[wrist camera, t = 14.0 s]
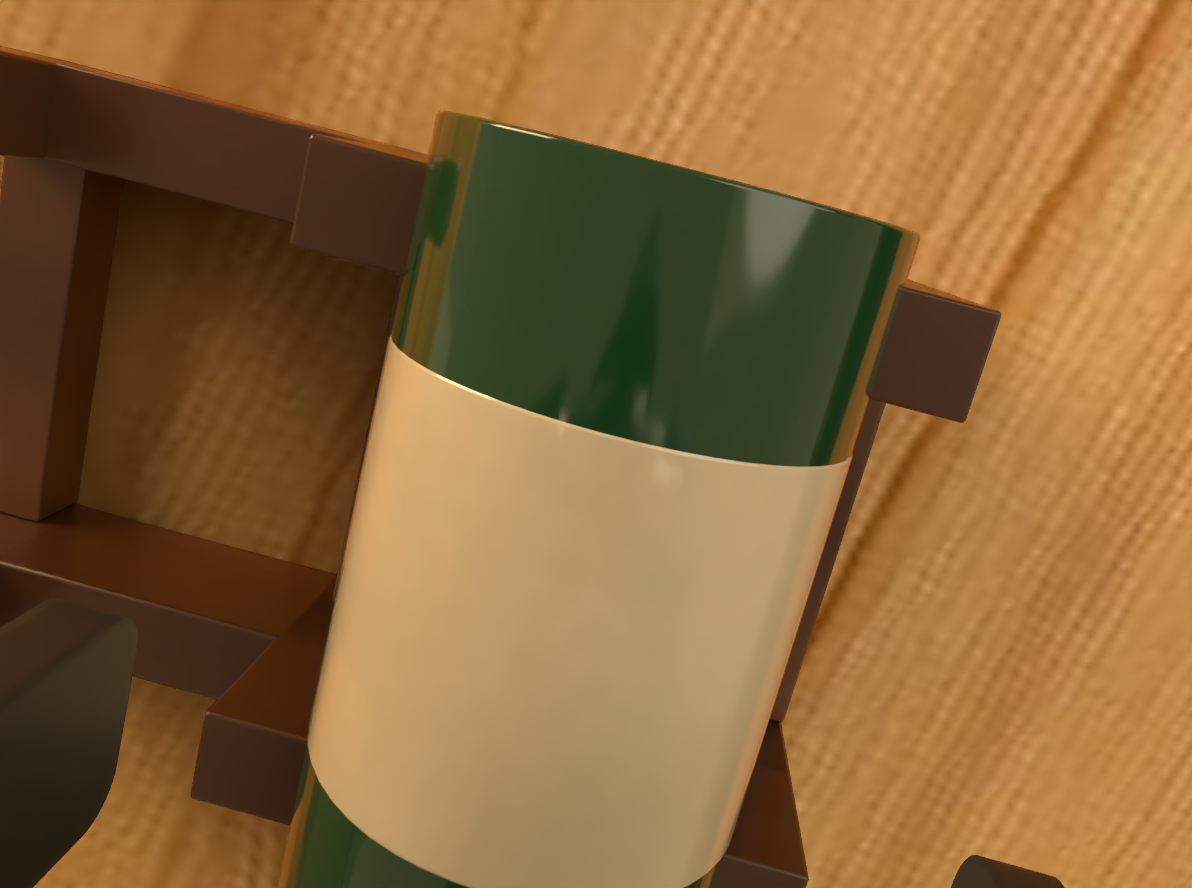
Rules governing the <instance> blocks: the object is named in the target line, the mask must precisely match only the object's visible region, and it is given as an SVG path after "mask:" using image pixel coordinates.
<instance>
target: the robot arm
mask: <svg viewBox="0 0 1192 888" xmlns="http://www.w3.org/2000/svg"><path fill="white" fill-rule="evenodd" d="M137 643H138V633H137V627H136V624H135V622H134V621H133V620H132V619H130V618H127V617H123V616H120V615H116V614H112V613H109V612H105V611H102V610H98V609H94V608H91V607H87V606H84V605H80V604H76V603H73V602H69V601H66V600H62V599H58V598H51V599H48V600H46V601H44V602H42V603H40V604H39V605H37V606H35V607H34V608H32V609H30V610H29V611H27V612H25V613H24V614H22V615H20V616H19V617H17V618H15V619H14V620H12V621H10V622H9V623H7V624H6V625H4V626H2V627H1V628H0V888H33V887H34V886H35V885H36V884H37V883H38V882H39V881H40V879H41V878H42V877H43V876H44V875H45V874H46V873H47V872H48V871H49V870H50V869H51V868H52V867H53V866H54V865H55V864H56V863H57V862H58V861H59V860H60V859H61V858H62V857H63V856H64V855H65V854H66V853H67V852H68V851H69V850H70V849H71V847H72V846H73V845H74V844H75V843H76V842H77V841H78V840H79V839H80V838H81V837H82V836H83V835H84V834H85V833H86V831H87V830H88V829H89V827H90V826H91V825H92V823H93V822H94V820H95V818H96V817H97V815H98V813H99V811H100V810H101V808H102V806H103V804H104V802H105V800H106V797H107V795H108V792H109V790H110V787H111V784H112V782H113V778H114V775H115V771H116V767H117V762H118V756H119V750H120V744H121V738H122V733H123V727H124V721H125V715H126V709H127V703H128V698H129V692H130V686H131V680H132V674H133V668H134V663H135V657H136V651H137ZM951 888H1064V886H1063V885H1062V883H1061V882H1060V881H1059V880H1058V879H1057V878H1055V877H1053V876H1050V875H1046V874H1043V873H1039V872H1035V871H1032V870H1028V869H1025V868H1021V867H1017V866H1014V865H1010V864H1007V863H1003V862H999V861H996V860H992V859H989V858H985V857H981V856H978V855H972V856H970V857H968V858H967V859H966V860H965V861H964V862H963V864H962V865H961V866H960V868H959V870H958V872H957V874H956V876H955V879H954V881H953V884H952V886H951Z"/></svg>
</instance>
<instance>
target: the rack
mask: <svg viewBox="0 0 1192 888" xmlns="http://www.w3.org/2000/svg"><path fill="white" fill-rule="evenodd" d="M0 155H4V156H5V158H4V167H3V175H2V184H1V192H0V628H1V627H2V626H4V625H6V624H7V623H9V622H10V621H12V620H14V619H15V618H17V617H19V616H20V615H22V614H24V613H25V612H27V611H29V610H30V609H32V608H34V607H35V606H37V605H39V604H40V603H42V602H44V601H46V600H48V599H51V598H58V599H62V600H66V601H69V602H73V603H76V604H80V605H84V606H87V607H91V608H94V609H98V610H102V611H105V612H109V613H112V614H116V615H120V616H123V617H127V618H130V619H132V620H133V621H134V622H135V624H136V627H137V633H138V643H137V651H136V657H135V663H134V668H133V674H132V676H133V677H137V678H140V679H144V680H147V681H151V682H155V683H158V684H162V685H166V686H169V687H173V688H177V689H180V690H184V691H188V692H191V693H195V694H199V695H202V696H206V697H210V698H213V699H217V701H216V702H215V703H214V704H213V705H212V706H211V707H210V708H209V709H208V710H207V712H206V713H205V716H204V722H203V727H202V733H201V738H200V744H199V749H198V755H197V760H196V766H195V772H194V777H193V783H192V788H191V797H192V798H193V799H196V800H199V801H203V802H207V803H210V804H214V805H217V806H221V807H225V808H228V809H232V810H235V811H239V812H243V813H246V814H250V815H254V816H257V817H261V818H264V819H268V820H272V821H275V822H279V823H282V824H286V825H290V823H291V818H292V813H293V808H294V803H295V799H296V794H297V789H298V784H299V779H300V774H301V769H302V765H303V760H304V755H305V750H306V745H307V740H308V728H309V723H310V718H311V713H312V709H313V704H314V699H315V694H316V689H317V684H318V679H319V675H320V670H321V665H322V660H323V655H324V650H325V645H326V641H327V636H328V631H329V626H330V621H331V616H332V611H333V607H334V602H335V597H336V592H337V587H338V582H339V577H340V572H341V568H342V563H343V558H344V553H345V548H346V543H347V538H348V534H349V529H350V524H351V519H352V514H353V509H354V504H355V500H356V495H357V490H358V485H359V480H360V475H361V470H362V466H363V461H364V456H365V451H366V446H367V441H368V436H369V432H370V427H371V422H372V417H373V412H374V407H375V402H376V398H377V393H378V388H379V383H380V378H381V373H382V368H383V364H384V359H385V354H386V349H387V344H388V339H389V337H390V335H391V333H392V328H393V323H394V318H395V314H396V309H397V304H398V299H399V294H400V289H401V284H402V280H403V275H404V270H405V265H406V260H407V255H408V251H409V246H410V241H411V236H412V231H413V226H414V221H415V217H416V212H417V207H418V202H419V197H420V192H421V187H422V183H423V178H424V173H425V168H426V163H427V158H428V155H427V154H423V153H419V152H415V151H412V150H408V149H404V148H400V147H396V146H392V145H388V144H385V143H381V142H377V141H373V140H369V139H365V138H361V137H358V136H354V135H350V134H346V133H342V132H338V131H334V130H331V129H327V128H323V127H319V126H315V125H311V124H307V123H303V122H300V121H296V120H292V119H288V118H284V117H280V116H276V115H273V114H269V113H265V112H261V111H257V110H253V109H249V108H246V107H242V106H238V105H234V104H230V103H226V102H222V101H219V100H215V99H211V98H207V97H203V96H199V95H195V94H192V93H188V92H184V91H180V90H176V89H172V88H168V87H165V86H161V85H157V84H153V83H149V82H145V81H141V80H138V79H134V78H130V77H126V76H122V75H118V74H114V73H111V72H107V71H103V70H99V69H95V68H91V67H87V66H83V65H80V64H76V63H72V62H68V61H64V60H60V59H56V58H51V57H47V56H42V55H38V54H34V53H29V52H25V51H20V50H16V49H12V48H7V47H3V46H0ZM123 179H124V180H128V181H131V182H135V183H139V184H143V185H147V186H151V187H154V188H158V189H162V190H166V191H170V192H174V193H177V194H181V195H185V196H189V197H193V198H196V199H200V200H204V201H208V202H212V203H216V204H219V205H223V206H227V207H231V208H235V209H239V210H242V211H246V212H250V213H254V214H258V215H261V216H265V217H269V218H273V219H277V220H281V221H284V222H288V223H292V224H293V229H292V235H291V240H290V241H291V245H292V246H293V247H295V248H297V249H301V250H305V251H309V252H313V253H316V254H320V255H324V256H328V257H332V258H335V259H339V260H343V261H347V262H351V263H355V264H358V265H362V266H366V267H370V268H374V269H377V270H381V271H385V272H389V273H393V274H396V275H399V277H398V282H397V287H396V292H395V297H394V302H393V306H392V311H391V316H390V321H389V326H388V331H387V336H386V340H385V345H384V350H383V355H382V360H381V365H380V370H379V374H378V379H377V384H376V389H375V394H374V399H373V404H372V408H371V413H370V418H369V423H368V428H367V433H366V438H365V442H364V447H363V452H362V457H361V462H360V467H359V472H358V476H357V481H356V486H355V491H354V496H353V501H352V506H351V510H350V515H349V520H348V525H347V530H346V535H345V540H344V544H343V549H342V554H341V559H340V564H339V569H338V574H337V575H334V574H330V573H327V572H323V571H319V570H316V569H312V568H308V567H304V566H301V565H297V564H293V563H290V562H286V561H282V560H279V559H275V558H271V557H267V556H264V555H260V554H256V553H253V552H249V551H245V550H241V549H238V548H234V547H230V546H227V545H223V544H219V543H216V542H212V541H208V540H204V539H201V538H197V537H193V536H190V535H186V534H182V533H179V532H175V531H171V530H167V529H164V528H160V527H156V526H153V525H149V524H145V523H142V522H138V521H134V520H130V519H127V518H123V517H119V516H116V515H112V514H108V513H104V512H101V511H97V510H93V509H91V508H88V507H84V506H80V505H77V504H75V503H76V502H77V499H78V492H79V485H80V478H81V471H82V463H83V456H84V449H85V442H86V435H87V428H88V421H89V414H90V407H91V400H92V393H93V386H94V379H95V372H96V365H97V358H98V351H99V344H100V337H101V330H102V323H103V316H104V309H105V302H106V295H107V288H108V281H109V274H110V267H111V260H112V253H113V246H114V239H115V232H116V225H117V218H118V211H119V204H120V197H121V190H122V183H123ZM1000 318H1001V313H1000V312H999V311H997V310H994V309H991V308H988V307H986V306H983V305H980V304H977V303H974V302H971V301H968V300H966V299H963V298H960V297H957V296H954V295H951V294H948V293H946V292H943V291H940V290H937V289H934V288H931V287H929V286H926V285H923V284H920V283H917V282H914V281H911V280H909V279H907V281H906V284H905V288H904V291H903V294H902V297H901V300H900V303H899V307H898V310H897V313H896V316H895V319H894V322H893V325H892V329H891V332H890V335H889V338H888V341H887V344H886V348H885V351H884V354H883V357H882V360H881V363H880V366H879V370H878V373H877V376H876V379H875V382H874V385H873V389H872V392H871V395H870V398H869V401H868V404H867V407H866V411H865V414H864V417H863V420H862V423H861V426H860V429H859V433H858V436H857V439H856V442H855V445H854V448H853V457H852V460H851V463H850V467H849V470H848V473H847V476H846V479H845V482H844V485H843V489H842V492H841V495H840V498H839V501H838V504H837V508H836V511H835V514H834V517H833V520H832V523H831V526H830V530H829V533H828V536H827V539H826V542H825V545H824V548H823V552H822V555H821V558H820V561H819V564H818V567H817V570H816V574H815V577H814V580H813V583H812V586H811V589H810V593H809V596H808V599H807V602H806V605H805V608H804V611H803V615H802V618H801V621H800V624H799V627H798V630H797V633H796V637H795V640H794V643H793V646H792V649H791V652H790V656H789V659H788V662H787V665H786V668H785V671H784V674H783V678H782V681H781V684H780V687H779V690H778V693H777V696H776V700H775V703H774V706H773V709H772V712H771V715H770V718H769V722H768V725H767V728H766V731H765V734H764V737H763V741H762V744H761V747H760V750H759V753H758V756H757V759H756V763H755V766H754V769H753V772H752V775H751V778H750V781H749V785H748V788H747V791H746V794H745V797H744V800H743V803H742V807H741V810H740V813H739V816H738V819H737V822H736V826H735V829H734V832H733V835H732V838H731V841H730V844H729V847H728V848H727V850H726V852H725V855H724V858H723V861H722V865H721V868H720V871H719V874H718V877H717V880H716V883H715V887H714V888H806V885H807V882H808V880H809V879H808V872H807V866H806V861H805V855H804V849H803V844H802V838H801V833H800V827H799V821H798V816H797V810H796V804H795V799H794V793H793V787H792V782H791V776H790V770H789V765H788V759H787V754H786V748H785V742H784V737H783V731H782V725H781V722H782V721H783V720H784V718H785V715H786V712H787V709H788V706H789V703H790V700H791V697H792V694H793V690H794V687H795V684H796V681H797V678H798V675H799V672H800V669H801V666H802V662H803V659H804V656H805V653H806V650H807V647H808V644H809V641H810V638H811V634H812V631H813V628H814V625H815V622H816V619H817V616H818V613H819V610H820V606H821V603H822V600H823V597H824V594H825V591H826V588H827V585H828V582H829V578H830V575H831V572H832V569H833V566H834V563H835V560H836V557H837V554H838V551H839V547H840V544H841V541H842V538H843V535H844V532H845V529H846V526H847V523H848V519H849V516H850V513H851V510H852V507H853V504H854V501H855V498H856V495H857V491H858V488H859V485H860V482H861V479H862V476H863V473H864V470H865V467H866V463H867V460H868V457H869V454H870V451H871V448H872V445H873V442H874V439H875V435H876V432H877V429H878V426H879V423H880V420H881V417H882V414H883V411H884V407H885V404H886V403H887V404H891V405H895V406H899V407H903V408H906V409H910V410H914V411H918V412H922V413H926V414H929V415H933V416H937V417H941V418H945V419H948V420H952V421H956V422H960V423H962V422H964V421H965V420H966V418H967V415H968V412H969V409H970V406H971V403H972V400H973V397H974V394H975V391H976V389H977V386H978V383H979V380H980V377H981V374H982V371H983V368H984V365H985V362H986V359H987V356H988V353H989V350H990V347H991V345H992V342H993V339H994V336H995V333H996V330H997V327H998V324H999V321H1000Z"/></svg>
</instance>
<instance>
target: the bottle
mask: <svg viewBox="0 0 1192 888" xmlns="http://www.w3.org/2000/svg"><path fill="white" fill-rule="evenodd" d="M919 240H920V235H919V234H918V233H916V232H914V231H911V230H908V229H905V228H902V227H899V226H896V225H893V224H890V223H886V222H883V221H880V220H876V219H873V218H869V217H866V216H862V215H859V214H855V213H852V212H848V211H845V210H841V209H838V208H834V207H830V206H827V205H823V204H820V203H816V202H812V201H809V200H805V199H801V198H798V197H794V196H790V195H787V194H783V193H779V192H775V191H772V190H768V189H764V188H760V187H757V186H753V185H749V184H745V183H742V182H738V181H734V180H730V179H726V178H723V177H719V176H715V175H711V174H707V173H703V172H700V171H696V170H692V169H688V168H684V167H680V166H676V165H673V164H669V163H665V162H661V161H657V160H653V159H649V158H645V157H641V156H637V155H633V154H629V153H625V152H621V151H617V150H613V149H609V148H605V147H601V146H597V145H593V144H589V143H585V142H581V141H577V140H573V139H569V138H565V137H561V136H557V135H553V134H548V133H544V132H540V131H536V130H532V129H528V128H523V127H519V126H515V125H511V124H506V123H502V122H498V121H493V120H489V119H484V118H480V117H475V116H471V115H466V114H461V113H456V112H450V111H439V112H438V113H437V115H436V120H435V124H434V129H433V134H432V139H431V144H430V149H429V154H428V158H427V163H426V168H425V173H424V178H423V183H422V187H421V192H420V197H419V202H418V207H417V212H416V217H415V221H414V226H413V231H412V236H411V241H410V246H409V251H408V255H407V260H406V265H405V270H404V275H403V280H402V284H401V289H400V294H399V299H398V304H397V309H396V314H395V318H394V323H393V328H392V333H391V335H390V337H389V339H388V344H387V349H386V354H385V359H384V364H383V368H382V373H381V378H380V383H379V388H378V393H377V398H376V402H375V407H374V412H373V417H372V422H371V427H370V432H369V436H368V441H367V446H366V451H365V456H364V461H363V466H362V470H361V475H360V480H359V485H358V490H357V495H356V500H355V504H354V509H353V514H352V519H351V524H350V529H349V534H348V538H347V543H346V548H345V553H344V558H343V563H342V568H341V572H340V577H339V582H338V587H337V592H336V597H335V602H334V607H333V611H332V616H331V621H330V626H329V631H328V636H327V641H326V645H325V650H324V655H323V660H322V665H321V670H320V675H319V679H318V684H317V689H316V694H315V699H314V704H313V709H312V713H311V718H310V723H309V728H308V740H307V745H306V750H305V755H304V760H303V765H302V769H301V774H300V779H299V784H298V789H297V794H296V799H295V803H294V808H293V813H292V818H291V823H290V828H289V832H288V837H287V842H286V847H285V852H284V857H283V862H282V866H281V871H280V876H279V881H278V886H277V888H714V887H715V883H716V880H717V877H718V874H719V871H720V868H721V865H722V861H723V858H724V855H725V852H726V850H727V848H728V847H729V844H730V841H731V838H732V835H733V832H734V829H735V826H736V822H737V819H738V816H739V813H740V810H741V807H742V803H743V800H744V797H745V794H746V791H747V788H748V785H749V781H750V778H751V775H752V772H753V769H754V766H755V763H756V759H757V756H758V753H759V750H760V747H761V744H762V741H763V737H764V734H765V731H766V728H767V725H768V722H769V718H770V715H771V712H772V709H773V706H774V703H775V700H776V696H777V693H778V690H779V687H780V684H781V681H782V678H783V674H784V671H785V668H786V665H787V662H788V659H789V656H790V652H791V649H792V646H793V643H794V640H795V637H796V633H797V630H798V627H799V624H800V621H801V618H802V615H803V611H804V608H805V605H806V602H807V599H808V596H809V593H810V589H811V586H812V583H813V580H814V577H815V574H816V570H817V567H818V564H819V561H820V558H821V555H822V552H823V548H824V545H825V542H826V539H827V536H828V533H829V530H830V526H831V523H832V520H833V517H834V514H835V511H836V508H837V504H838V501H839V498H840V495H841V492H842V489H843V485H844V482H845V479H846V476H847V473H848V470H849V467H850V463H851V460H852V457H853V448H854V445H855V442H856V439H857V436H858V433H859V429H860V426H861V423H862V420H863V417H864V414H865V411H866V407H867V404H868V401H869V398H870V395H871V392H872V389H873V385H874V382H875V379H876V376H877V373H878V370H879V366H880V363H881V360H882V357H883V354H884V351H885V348H886V344H887V341H888V338H889V335H890V332H891V329H892V325H893V322H894V319H895V316H896V313H897V310H898V307H899V303H900V300H901V297H902V294H903V291H904V288H905V284H906V281H907V278H908V275H909V272H910V269H911V266H912V262H913V259H914V256H915V253H916V250H917V247H918V244H919Z"/></svg>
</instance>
